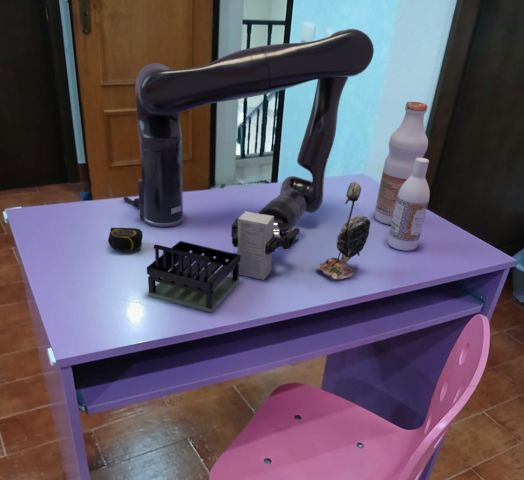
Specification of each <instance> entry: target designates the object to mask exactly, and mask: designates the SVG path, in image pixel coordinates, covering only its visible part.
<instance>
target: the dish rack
mask: <svg viewBox="0 0 524 480" xmlns="http://www.w3.org/2000/svg"><path fill="white" fill-rule="evenodd" d="M153 249H154V255H155V257H154V258H155V260H154V261H152V263H150V264H149V265H147V266H146V275H148V277H147V283H148V293H147V296H148V297H150V298H154V299H158V300H162V301H165V302H168V303H173V304H176V305H180V306H183V307H187V308H190V309H191V308H192V309H195V310H199V311H202V312H206V313H210V314H212V313H213V312H214V311H215V310H216V309H217V307H219V305H220V304H221V303H222V302H223V301H225V299H226V298H227V297H228V295H229V294H230V293H232V291H233V290H234V289H235V288H236V286H237V285H238V284H240V275H239V264H238V263H239V262H240V256H241V255H238V254H237V253H234V252H229V251H226V250H220V249H217V248H212V247H208V246H205V245H199V244H195V243H191V242H187V241H183V240H179V241H178V242H177V243H175V244H174V245H173V246H172V247H168V246H164V245H161V244H154V245H153ZM160 251H162V254H161V256H160ZM231 273H232V276H229V274H231ZM156 283H157V284H156Z"/></svg>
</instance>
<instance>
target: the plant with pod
mask: <svg viewBox="0 0 524 480" xmlns="http://www.w3.org/2000/svg"><path fill="white" fill-rule="evenodd" d="M361 192H362V186H361V185H360V183H358V182H356V181H353V182H350V183H349V186H348V188H347V190H346V195H345V196H346V200H345V205H347V204H348V203H349V202H352V203H351V207H350V211H349V215H348V219H347V220H346V221H345V223H344V224H343V225H342V227H341V228H340V231H339V233H338V234H337V236H336V237H337V239H336V249H337V250H338V251H339V252H338V253H339V254H338V256H337V257H329V258H327V259H326V261H324V262H322V263H319V265H318V266H317V267H316V268H315V270H316V271H322V272H321V273H323V274H324V275H325V276H327V277H328V278H329V279H330V280H335V281H336V280H337V281H338V280H342V279H346V278H352V277H353V276H354V274H355V273H356V272H357V269H358V268H357V267H352V266H349V265H348V262H349V261H350V259H351V258H353V257H355V256H356V255H357V256H360V252H362V250H363V249H364V247H365V245H366V243H367V240H368V237H369V235H370V228H371V227H370V226H371V220H370V219H369V217H368V216H364V215H361V214H359V215H356V216H353V217H352V215H353V210H354V206H355V203H356V202H357V201H358V200H359V198H360V197H361ZM371 219H373V217H371ZM341 255H342V256H341ZM340 256H341V258H340Z"/></svg>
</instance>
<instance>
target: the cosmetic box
mask: <svg viewBox="0 0 524 480" xmlns="http://www.w3.org/2000/svg"><path fill="white" fill-rule="evenodd" d="M239 216H240V217H239V218H238V217H237V218H238V245H237V247H236V249H237V251H236V254H238V255H241V256H240V262H239V263H238V264H239V276H244V277H247V278H248V277H249V278H253V279H256V280H257V279H258V280H263V281H265V280H266V279H267V277H268V276H269V275H270V273H271V270H272V254H273V253H270V254H269V255H268V254H265V248H266V244H267V243H268V241H269V240H270V239H271V238H272V237H273V226H274V216H270V215H264V214H259V212H252V211H247V210H245V211H244V212H243V213H242V214H241V215H239Z"/></svg>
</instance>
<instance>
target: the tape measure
mask: <svg viewBox="0 0 524 480" xmlns="http://www.w3.org/2000/svg"><path fill="white" fill-rule="evenodd" d="M142 241H143V230H141V229H140V228H135V227H111V228H110V231H109V234H108V238H107V243H108V244H109V246H110V247H111V249H113V250H115V251H120V252H132V251H135V250H139V248H141V247H142V243H143V242H142Z"/></svg>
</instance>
